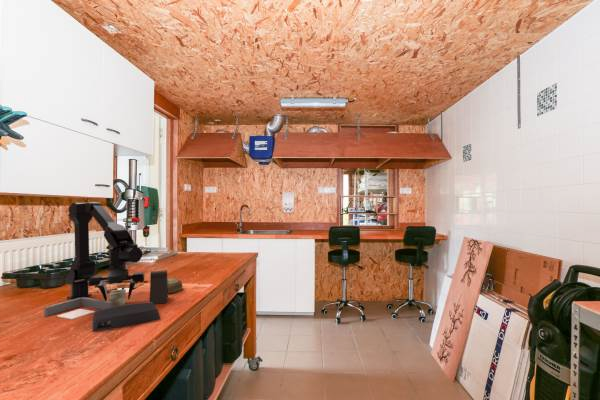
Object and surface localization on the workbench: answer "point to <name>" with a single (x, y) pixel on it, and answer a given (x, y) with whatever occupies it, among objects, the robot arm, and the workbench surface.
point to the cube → (118, 297)
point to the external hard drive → (124, 316)
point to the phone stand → (158, 287)
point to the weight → (174, 285)
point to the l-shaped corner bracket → (76, 303)
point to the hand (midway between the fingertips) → (117, 300)
